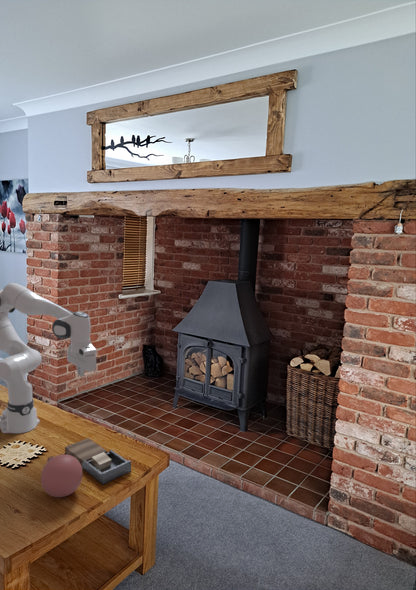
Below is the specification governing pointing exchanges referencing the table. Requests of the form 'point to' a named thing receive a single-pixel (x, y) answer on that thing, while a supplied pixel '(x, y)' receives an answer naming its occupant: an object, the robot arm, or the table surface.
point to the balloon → (61, 475)
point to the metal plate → (84, 450)
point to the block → (101, 461)
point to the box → (108, 468)
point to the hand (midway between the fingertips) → (80, 375)
